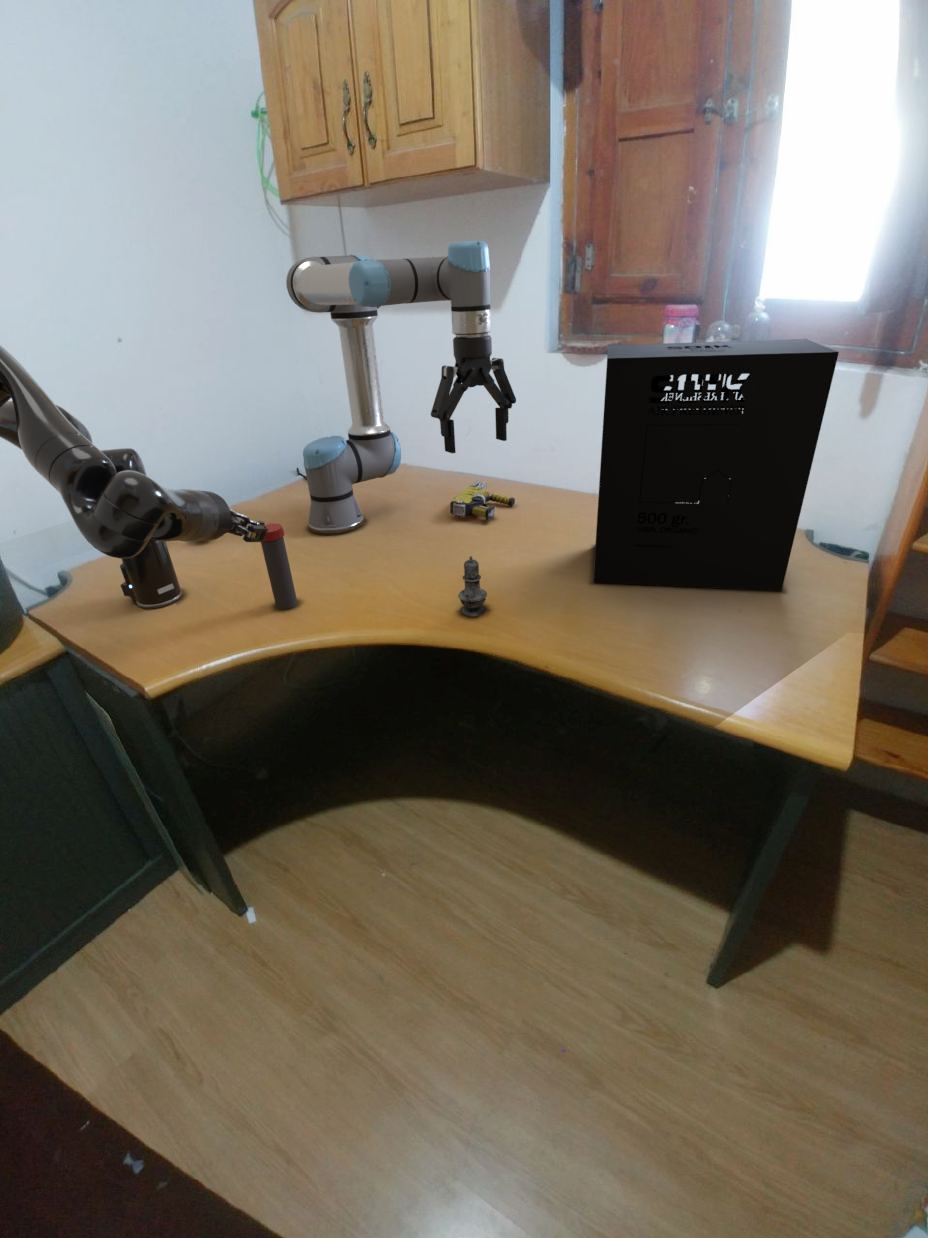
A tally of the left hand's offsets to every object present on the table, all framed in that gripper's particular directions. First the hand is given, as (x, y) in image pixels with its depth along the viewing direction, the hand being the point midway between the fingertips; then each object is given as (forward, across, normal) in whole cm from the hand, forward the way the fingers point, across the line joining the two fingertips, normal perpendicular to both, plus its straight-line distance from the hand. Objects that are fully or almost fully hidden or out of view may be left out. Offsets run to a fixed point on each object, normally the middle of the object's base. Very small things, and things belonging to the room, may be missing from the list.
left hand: (239, 516), depth 105 cm
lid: (+16, +1, -2) cm, 16 cm away
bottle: (+22, +8, -17) cm, 29 cm away
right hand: (+27, +30, +31) cm, 51 cm away
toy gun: (+74, +37, +21) cm, 86 cm away
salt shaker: (+17, +44, +1) cm, 48 cm away
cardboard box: (+33, +82, +28) cm, 93 cm away
